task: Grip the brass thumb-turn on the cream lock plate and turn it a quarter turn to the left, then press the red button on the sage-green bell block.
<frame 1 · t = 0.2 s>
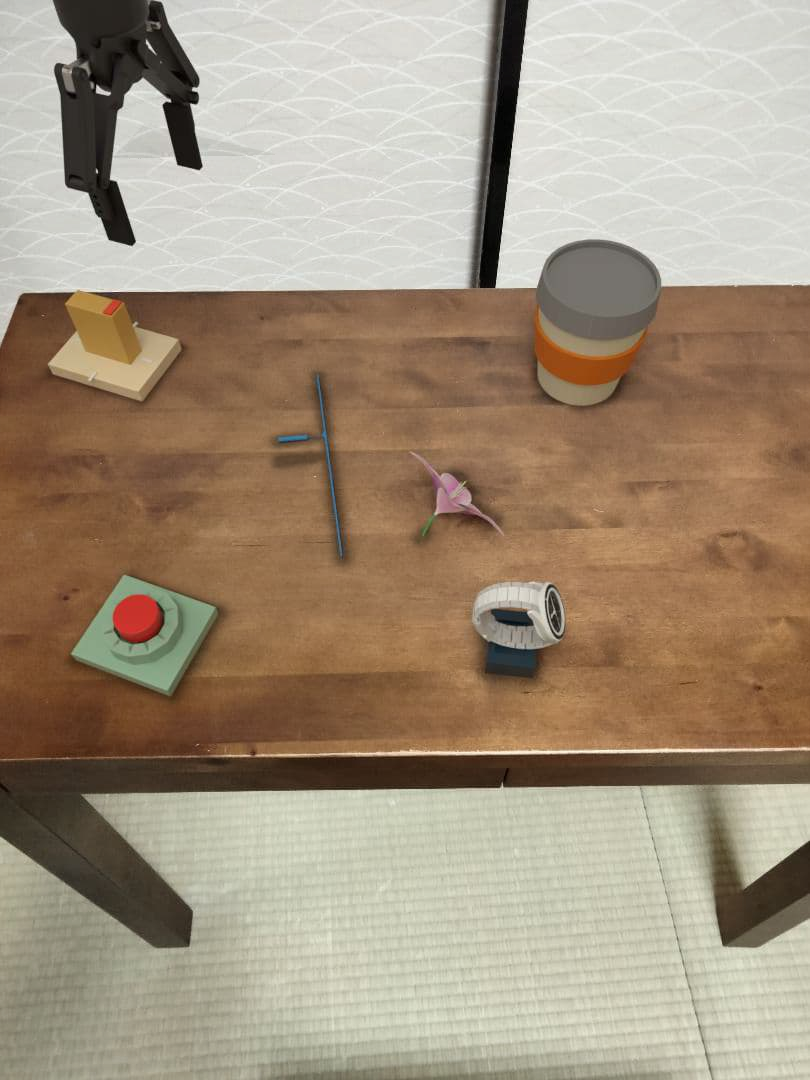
hand: (157, 202, 84), 18 cm above the table, tool pointing down, fingers open, 13 cm apart
reusable coffee cup: (575, 382, 95), on the table
lock plate: (120, 367, 97), on the table
thumbturn: (104, 327, 91), point 6 cm above the table, hinge at 0.0°
watch: (510, 653, 76), on the table
bell button: (137, 618, 73), point 4 cm above the table, slide at 0.1 cm
lily: (451, 523, 84), on the table
bell block: (150, 640, 77), on the table
blue squeegee: (306, 469, 88), on the table
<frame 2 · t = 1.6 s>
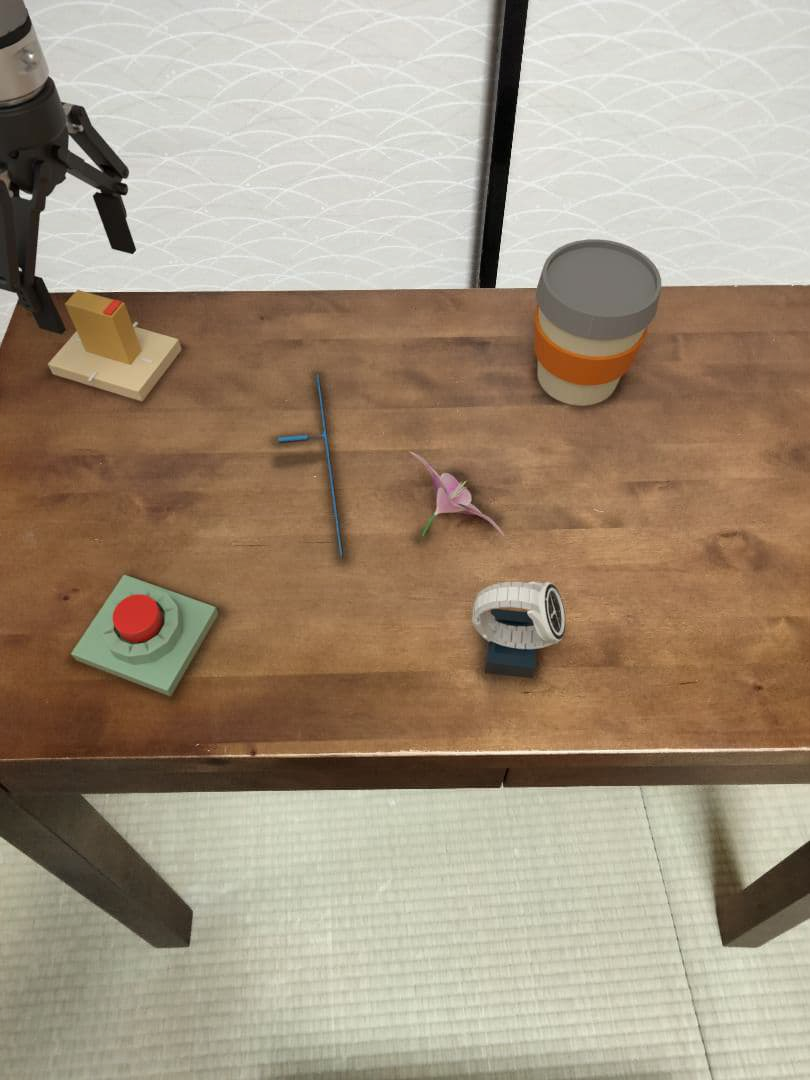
hand: (90, 288, 87), 12 cm above the table, tool pointing down, fingers open, 13 cm apart
nothing on the table moved.
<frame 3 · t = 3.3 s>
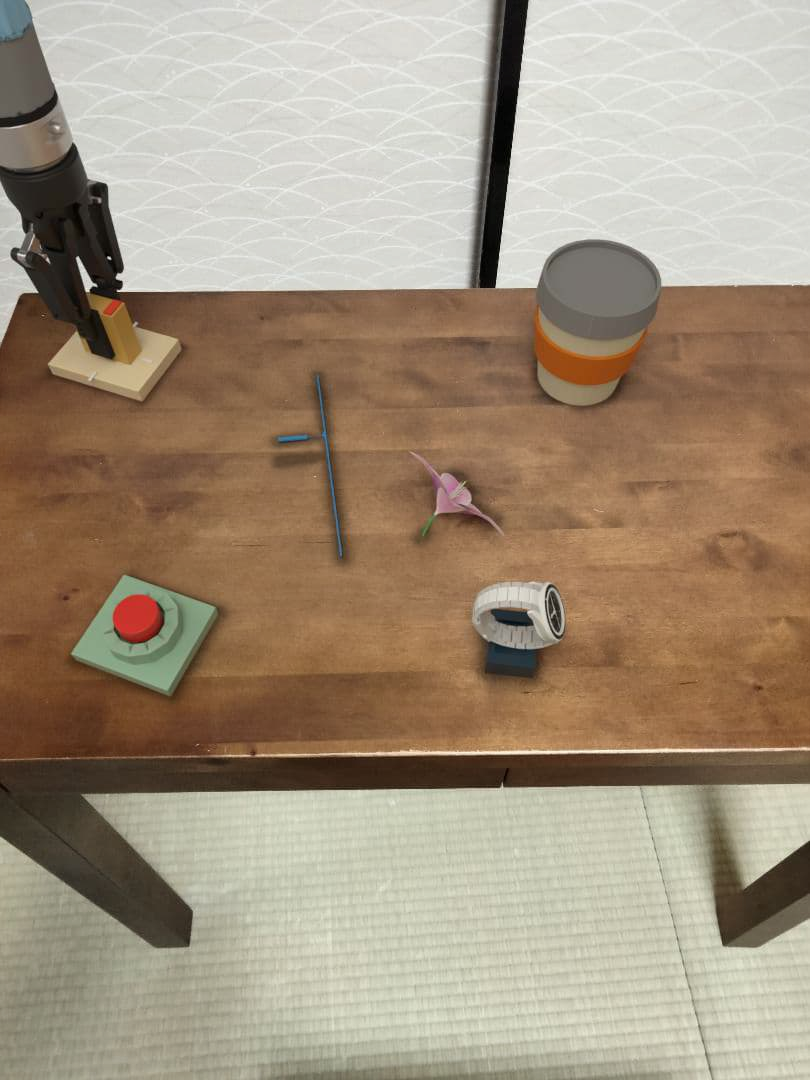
hand: (111, 344, 94), 4 cm above the table, tool pointing down, fingers closed on thumbturn, 2 cm apart
thumbturn: (104, 327, 91), point 6 cm above the table, hinge at -0.1°, touching gripper
everything else where it was.
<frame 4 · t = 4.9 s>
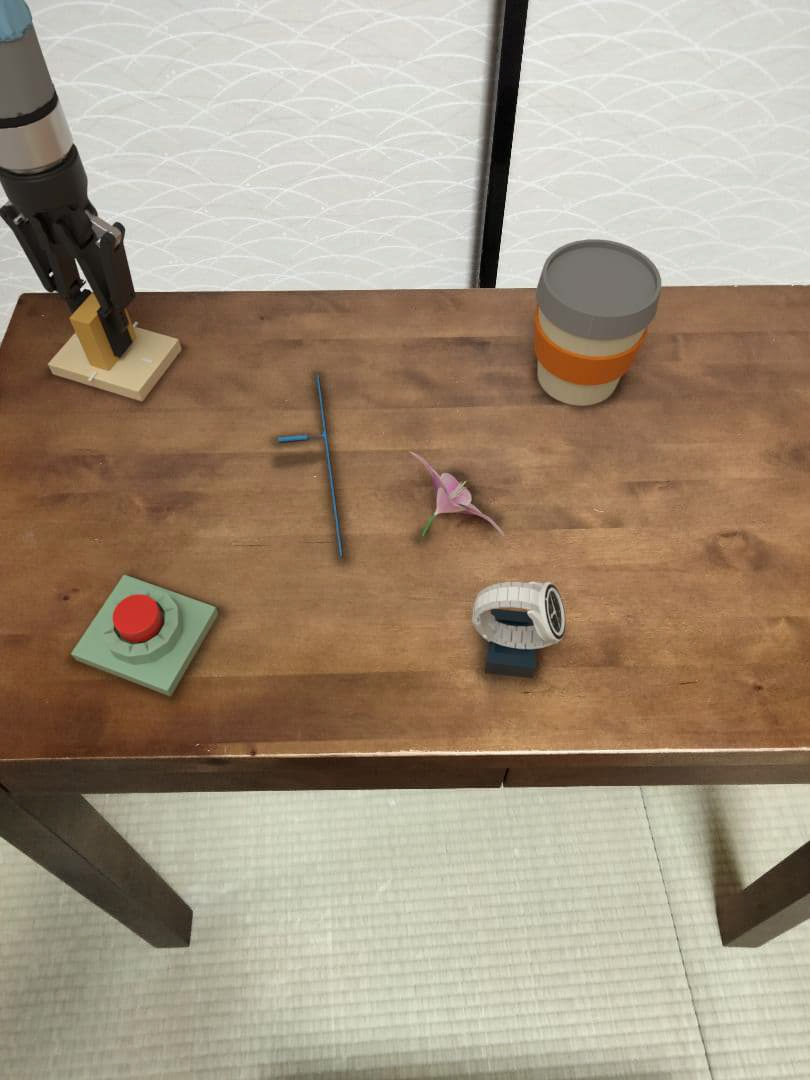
hand: (111, 345, 94), 3 cm above the table, tool pointing down, fingers open, 3 cm apart
thumbturn: (104, 327, 91), point 6 cm above the table, hinge at 89.8°
everything else where it was.
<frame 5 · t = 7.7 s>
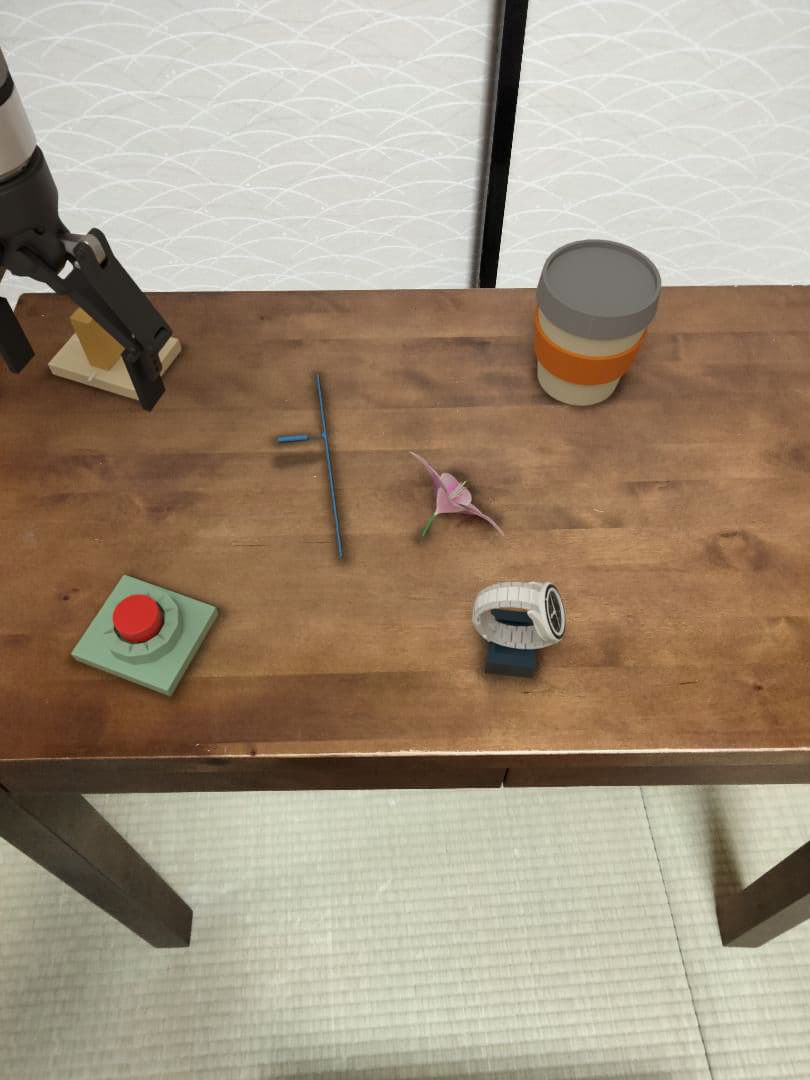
hand: (88, 381, 73), 16 cm above the table, tool pointing down, fingers open, 13 cm apart
nothing on the table moved.
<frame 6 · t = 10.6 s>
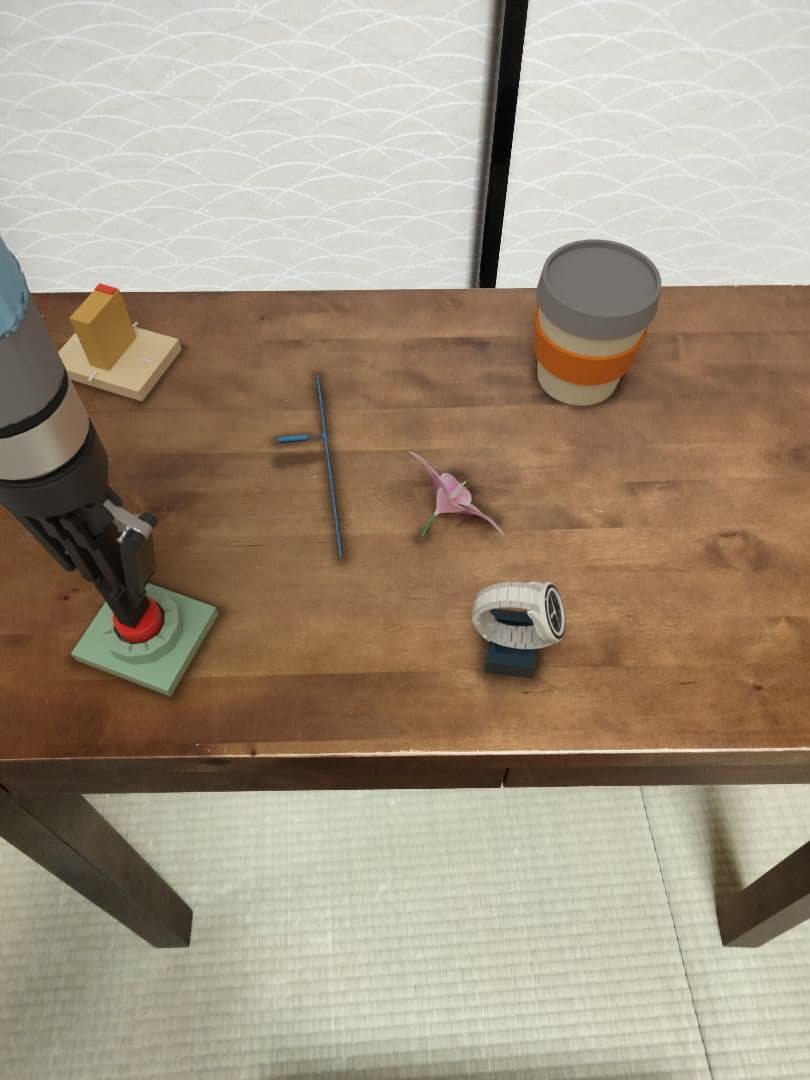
hand: (135, 613, 72), 6 cm above the table, tool pointing down, fingers closed
bell button: (138, 618, 73), point 4 cm above the table, slide at 0.0 cm, touching gripper
everything else where it was.
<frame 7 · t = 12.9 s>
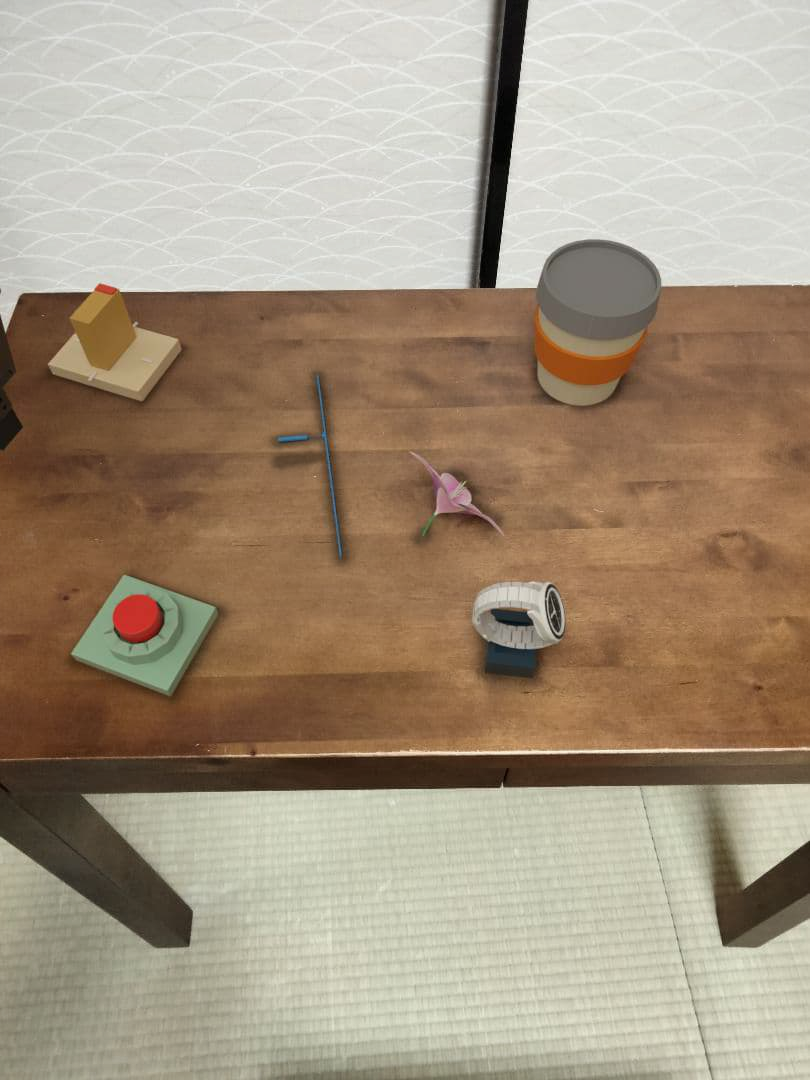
hand: (5, 436, 66), 19 cm above the table, tool pointing down, fingers closed
bell button: (137, 618, 73), point 4 cm above the table, slide at 0.1 cm
everything else where it was.
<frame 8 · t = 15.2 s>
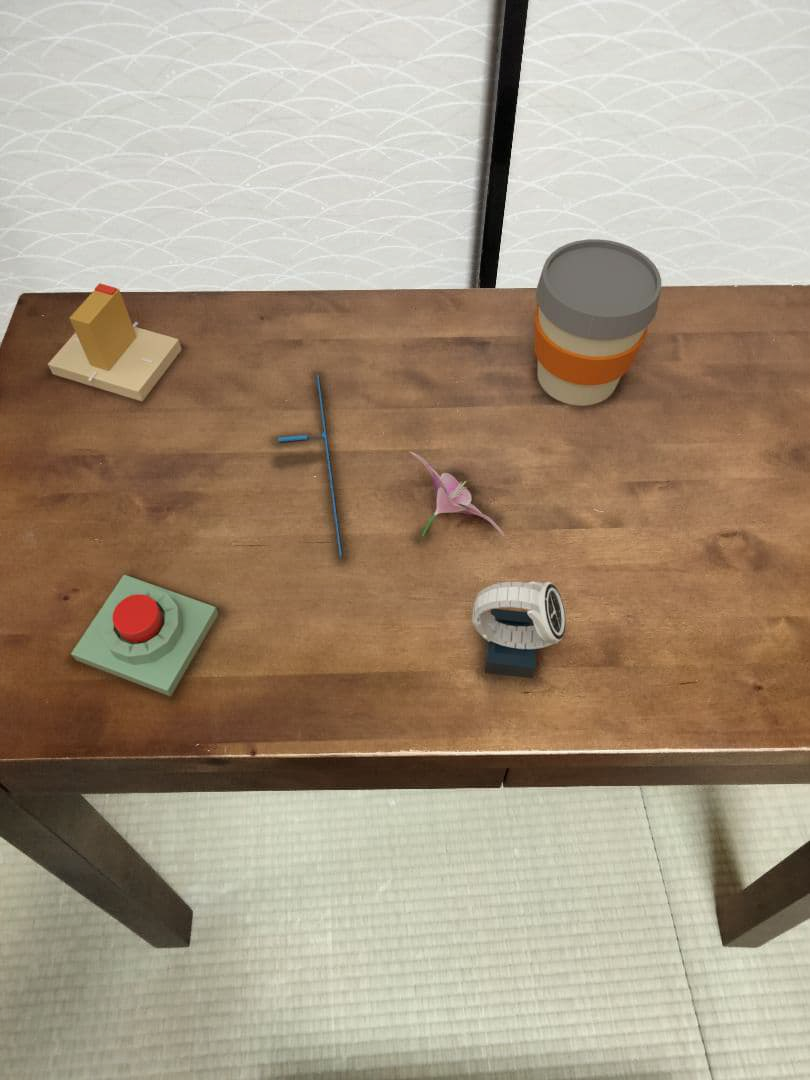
nothing on the table moved.
at the end: thumbturn at +90° (first picture: +0°); bell button pushed in 1.0 cm at the most during the clip, back to where it started at the end; bell button slide at 0.1 cm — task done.
